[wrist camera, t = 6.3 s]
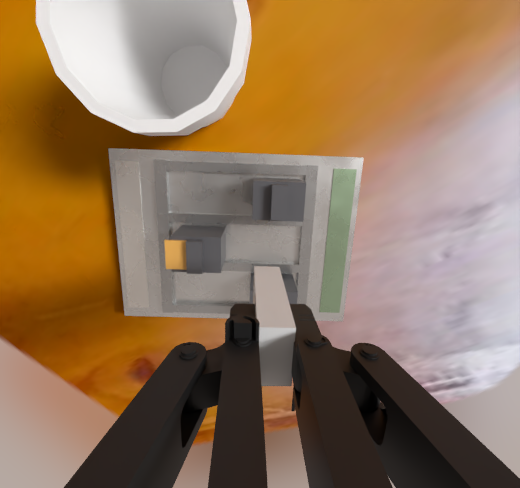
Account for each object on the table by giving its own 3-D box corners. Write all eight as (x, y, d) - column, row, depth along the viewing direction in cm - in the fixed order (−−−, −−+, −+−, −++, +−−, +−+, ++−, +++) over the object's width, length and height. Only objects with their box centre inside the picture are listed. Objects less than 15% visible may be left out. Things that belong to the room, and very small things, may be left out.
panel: (130, 308, 32) (122, 318, 30) (116, 148, 27) (104, 147, 25) (339, 313, 32) (344, 324, 30) (357, 157, 28) (366, 157, 26)
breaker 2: (252, 211, 27) (252, 222, 23) (253, 177, 26) (253, 181, 22) (296, 212, 27) (304, 223, 23) (299, 178, 26) (308, 183, 22)
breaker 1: (178, 255, 28) (163, 275, 24) (177, 224, 27) (161, 238, 23) (225, 257, 28) (219, 276, 24) (225, 226, 28) (219, 240, 23)
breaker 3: (250, 301, 30) (248, 327, 25) (250, 273, 29) (249, 295, 24) (290, 302, 30) (296, 329, 25) (292, 274, 29) (299, 296, 24)
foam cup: (274, 96, 26) (291, 40, 14) (196, 166, 28) (146, 173, 15) (200, -5, 24) (139, -181, 11) (119, 77, 26) (-11, 1, 13)
